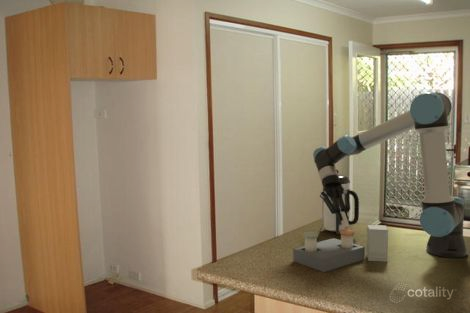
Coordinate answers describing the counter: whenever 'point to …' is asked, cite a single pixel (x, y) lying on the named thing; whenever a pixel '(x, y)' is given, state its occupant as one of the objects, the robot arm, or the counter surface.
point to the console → (328, 255)
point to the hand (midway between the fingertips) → (346, 227)
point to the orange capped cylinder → (347, 238)
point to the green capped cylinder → (310, 241)
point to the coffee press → (331, 219)
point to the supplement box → (377, 243)
